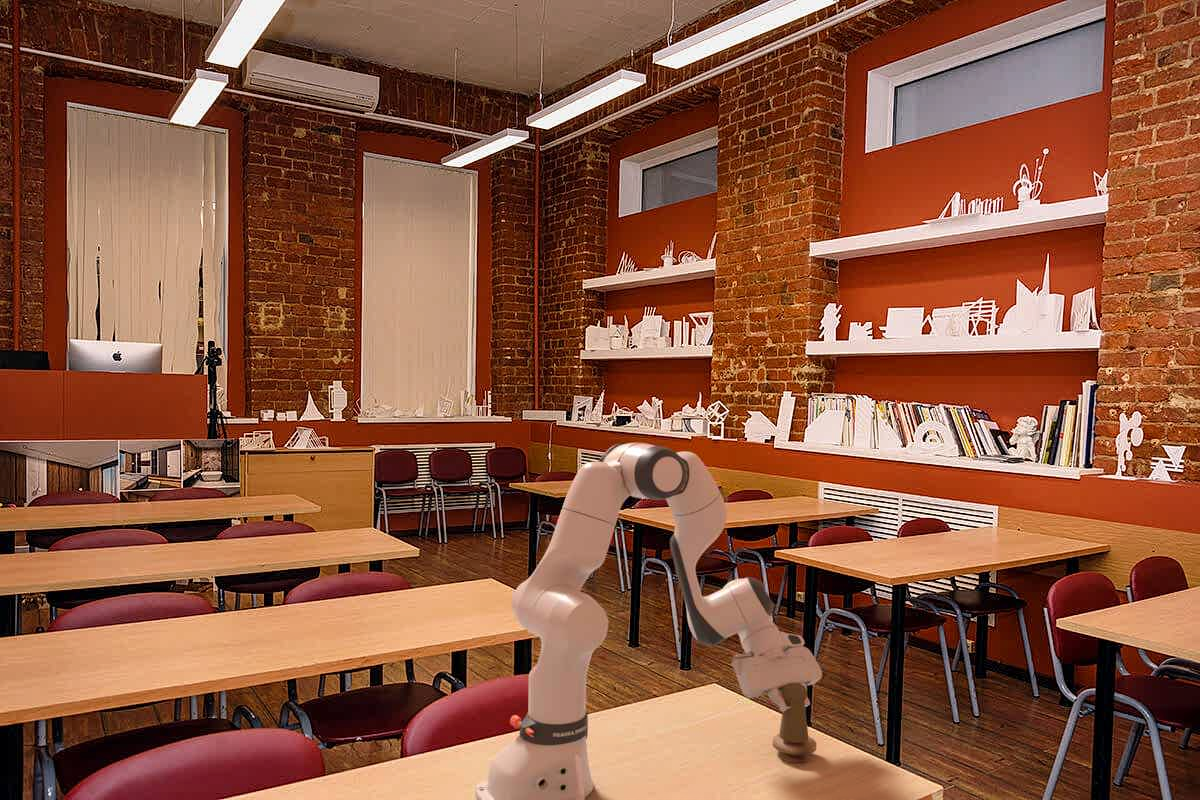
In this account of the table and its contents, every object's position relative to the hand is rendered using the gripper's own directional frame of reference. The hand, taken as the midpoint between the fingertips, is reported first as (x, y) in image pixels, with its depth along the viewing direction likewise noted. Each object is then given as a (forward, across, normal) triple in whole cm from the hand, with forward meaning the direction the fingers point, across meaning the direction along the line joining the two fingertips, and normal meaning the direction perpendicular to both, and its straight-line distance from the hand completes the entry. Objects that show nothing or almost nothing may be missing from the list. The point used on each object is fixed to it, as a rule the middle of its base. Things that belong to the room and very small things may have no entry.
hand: (796, 708), depth 181 cm
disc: (+7, 0, +8) cm, 10 cm away
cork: (+4, 0, +5) cm, 6 cm away
